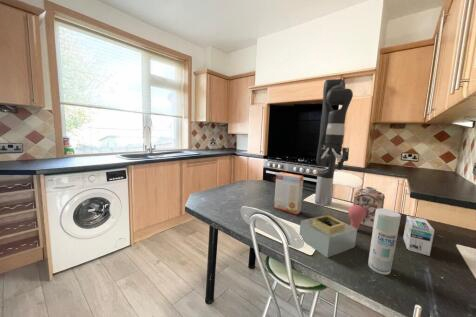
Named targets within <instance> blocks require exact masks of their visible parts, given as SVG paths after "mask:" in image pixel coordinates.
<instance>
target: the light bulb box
mask: <svg viewBox="0 0 476 317" xmlns="http://www.w3.org/2000/svg"><path fill="white" fill-rule="evenodd" d="M434 236H435V229H434V227H433V226H432V225H431V223H430V222H429V221H428V220H427V219H424V218H419V217H415V216H410V215H406V218H405V226H404V233H403V236H402V238H403V242H404V244H405V247H406V249H408V250H407V251H411V252H412V253H413V252H415V253H418V254H421V255H424V256H429V257H430V256H431V255H430V254H431V251H432V244H433V240H434Z"/></svg>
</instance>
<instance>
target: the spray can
mask: <svg viewBox="0 0 476 317" xmlns="http://www.w3.org/2000/svg"><path fill="white" fill-rule="evenodd" d="M401 217H402V215H401V213H399V212H397V211H394V210H391V209H388V208H383V209H382V208H379V209H376V212H375V219H374V226H373V228H372V234H371V239H370V241H371V242H370V248H369V254H368V262H367V263H368V264H367V265H368V267H369V268H370V269H371V270H372V271H373V272H376V273H377V274H381V275H385V276H386V275H390V273H391V271H392V267H393V266H392V265H393V260H394V255H395V250H396V245H397V239H398V234H399V229H400V222H401Z"/></svg>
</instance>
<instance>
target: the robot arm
mask: <svg viewBox="0 0 476 317" xmlns="http://www.w3.org/2000/svg"><path fill="white" fill-rule="evenodd" d="M353 96H354V92H353V90H352V89H351V88H346V82H345V80H344V79H342V78H331V79H330V78H329V79H326V80H324V83H323V90H322V110H321V116H320V127H319V138H318V140H319V141H318V145H317V146H318V147H317V151H316V152H317V153H316V159H315V160H316V164H317V165H318V166H321V167H328V168H325V169H323V170H318V171H317V176H316V186H315V196H314V203H315V204H317V205H320V206H330V205H331V204H332V202H333V201H332V200H333V192H334V189H333V184H334V174H335V168H336V162H337V168H336V170H337V171H338V170H339V171H341V170H343V167H344V162H348V161H349V156H350V155H349V152H350V151H349V150H350V148H349V147H343V144H344V138H345V130H346V129H345V128H346V127H345V124H346V116H347V113H348V112H347V111H348V109H349V107H350V104H351V103H352V100H353ZM332 106H341V108H339V109H333V107H332Z"/></svg>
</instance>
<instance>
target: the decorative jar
mask: <svg viewBox="0 0 476 317" xmlns="http://www.w3.org/2000/svg"><path fill="white" fill-rule="evenodd" d="M385 199H386V197H385V193H382V192H380V191H378V190H377V188H375V187H372V186H365V187H364V188H358V189H356V191H355V192H354V196H353V201H352V205H360V206H362V207H363V208H364V209H365V211H366V216H365V218H364V219H363V220H362V221H361V224H360V225H363V226H366V227H369V228H372V229H373V226H374V219H375V212H376V209H379V208H382V209H384V205H385Z"/></svg>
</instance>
